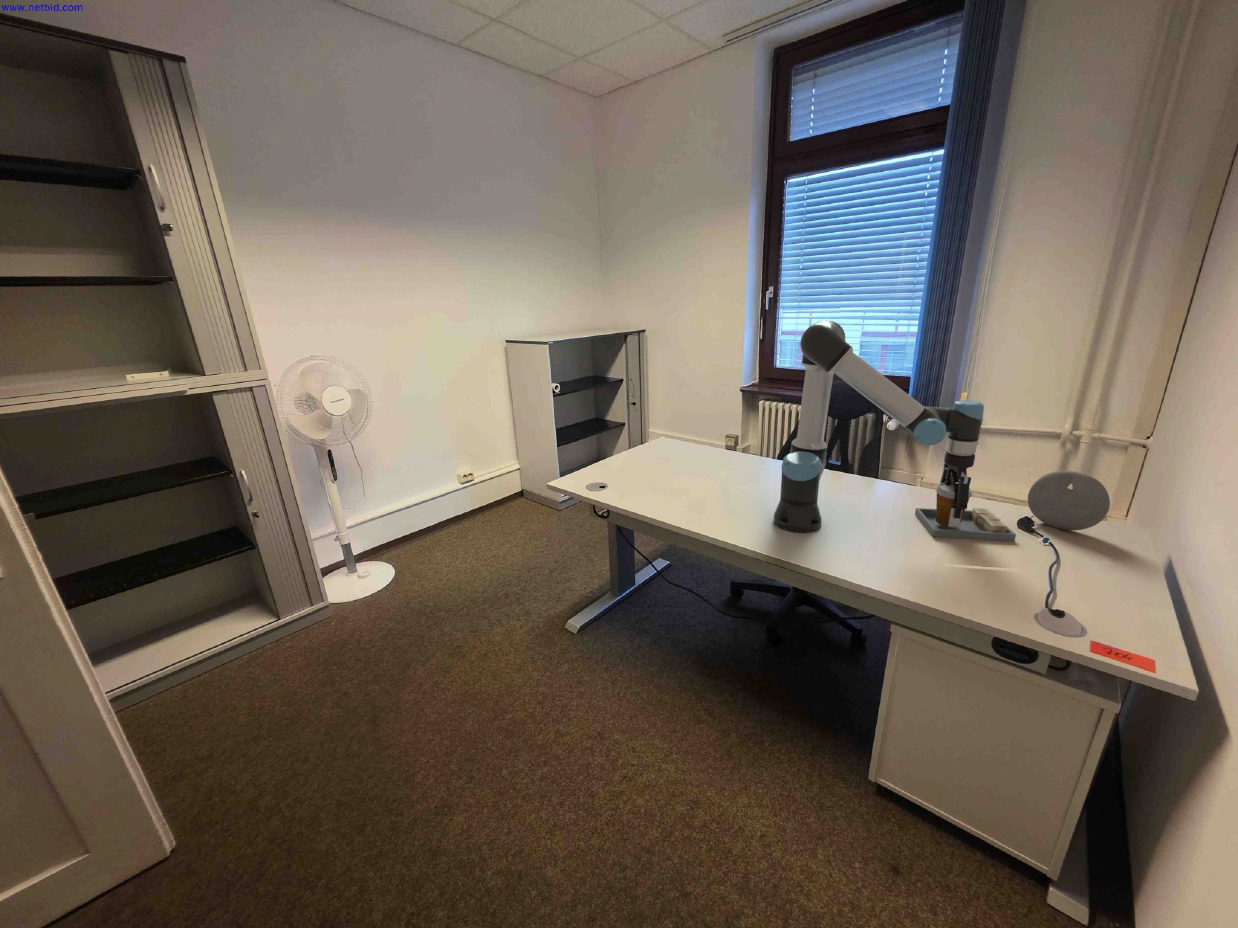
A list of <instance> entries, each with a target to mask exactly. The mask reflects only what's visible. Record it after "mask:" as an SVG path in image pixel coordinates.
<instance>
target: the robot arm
mask: <svg viewBox="0 0 1238 928" xmlns="http://www.w3.org/2000/svg"><path fill="white" fill-rule="evenodd" d="M800 350H801V352H802V358H801V365H803V367H804V368H805V373H804V381H803V389H802V395H801V404H800V412H799V420H798V425H797V426H798V427H797V434H796V438H794V439H793V440H791V445H790V446H791V447H790V452H789V453H787V454H786V455H785V456H784V457H783V459H782V463H781V482H780V483H781V484H780V496H779V497H780V499H779V502H778V505H777V507H776V509H775V511H774V513H773V523H774V525H775V526H777V527H778V528H780V529H782V530H783V531H784V530H785V531H787V532H793V533H801V534H802V533H812V532H815V531H818V530H819V529H820V528H821V527H822V520H823V519H822V516H821V512H820V508H819V505H818V499H819V487H820V481H821V478H822V475H823V473H824V470H825V469H826V466H827V451H828V444H827V443H826V441H824V439H825V433H826V425H827V421H828V420H827V419H828V414H829V413H828V412H829V408H830V407H829V406H830V399H831V392H832V385H833V379H834V375H835V376H837V377H838V378H840V379H841V380H842V381H844V382H845V383H846V384H848V385H849V386H850V387H852V388H853V389H854V390H856V391H857V392H858V393H859V394H861V395H862V396H863V397H864V398H866V399H867V400H868V401H870V402H871V403H872V404H873V405H875V406H876V407H877V408H879V409H880V410H881V411H883V412H884V413H885V414H886V415H888V416H889V417H891V418H892V419H893V420H895V421H896V422H897V423H898V424H899V425H901V426H902V427H903V428H904V429H905V430H907V431H908V432H909V433H911V434H912V435H913V437H914V438H915V440H916V441H918V443H920V444H922V445H923V446H935V445H937V444H940V443H941V442H942V441H943V440H944V439H945V437H946V434H947V433H948V436H947V441H946V446H945V450H946V451H945V454H944V459H943V462H944V464H943V471H942V475H941V479H940V482H939V484H940V483H945V485H952V486H953V492H955V497H954V500H953V506H951V513H950V518H949V523H948V526H949V527H959V524H960V519H961V514H962V509H965V510H967V509H968V503H969V501H968V494H969V488H970V485H971V482H972V477H971V476H968V474H967V473H968V470H967V469H969V468H972V467H973V466H974V464H975V459H976V455H975V453H977V447H978V446H979V444H980V442H979V437H980V433H981V428H982V423H983V420H984V410H985V405H984V404H983V403H982V402H980V401H974V400H956V401H955V402H954V404H953V406H952V407H951V406H950V407H942V406H941V407H940V406H927V405H925V406H924V405H923V404H921V403H920V402H919V401H918V400H916V399H915V398H914V397H912V396H911V395H909V394H908V393H907V392H906V391H904V390H903V389H901V388H900V387H899V386H898V385H897V384H896V383H894V382H892V381H891V380H890V379H889V378H887V376H885V375H883V374H882V373H881V372H879V371H878V370H877V369H875V368H874V367H873V366H872V365H870V364H869V363H868V362H866V361H865V360H863V359H862V358H861V357H860V356H858V355H857V354H856V353H854V348H853V346H852V345H851V344H849V343H848V342H847V341H846V333H845V330H844V329H843V327H842V326H841V325H840V324H839V323H838V322H835V321H832V320H821V321H817V322H816V323H815V322H814V324H812V325H810V326H808V328H806V329H805V330H804V331H803V333H802V336H801V338H800Z"/></svg>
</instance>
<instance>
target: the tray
mask: <svg viewBox="0 0 1238 928" xmlns="http://www.w3.org/2000/svg"><path fill="white" fill-rule="evenodd" d="M972 512H973V509H972V510H970V509H969V510H967V509H965V512H964V515H963V517H962V520H961V523H960V525H959V527H948V526H944V525H941V524H939V523H937V522H936V508H922V507H921V508H919V507H915V511H914V515H915V517H916V518H917V519H918V521H919V522H920V523H921V525H922V526H923V528H925V530H926V531H927V532H928V533H929V535H930V536H931V537H932V538H940V539H943V538H944V539H956V540H958V539H959V540H960V539H961V540H974V541H992V542H993V541H994V542H995V541H996V542H1012V543H1015V541H1016V536H1017V533H1015V532H1014V531H1013V530H1012V529H1011V528H1009V527H1008V526H1007V529H1006V533H1003V532H984V531H983V530H981V529H980V528H978V527H977V526H976V524H974V523H973V521H972V520H971V517H972ZM992 515H994V516H996V515H995V514H993V513H992Z"/></svg>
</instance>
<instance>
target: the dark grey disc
mask: <svg viewBox="0 0 1238 928" xmlns="http://www.w3.org/2000/svg"><path fill="white" fill-rule="evenodd" d="M1070 485H1071V486H1072V488H1069V486H1070ZM1110 499H1111V498H1110V496H1109V493H1108V490H1107V488H1106V487H1105V486H1104V485H1103V483H1102V482H1100V480H1098V479H1097V478H1095V477H1093V476H1091V475H1089V474H1086V473H1082V472H1078V471H1071V470H1058V471H1057V470H1056V471H1052V472H1048V473H1046V474H1044V475H1042V476H1041V477H1039V478H1038V479H1037V480H1036V481H1034V483H1033V484H1032V485H1031V487H1030V489H1029V491H1028V493H1027V504H1028V508H1029V510H1030V512H1031V514H1033V516H1035V518H1036V519H1038V520H1039V521H1040V522H1042V523H1043V524H1045V525H1047V526H1049V527H1052V528H1055V529H1059V530H1061V531H1062V530H1063V531H1081V530H1086V529H1089V528H1092V527H1095V526H1097V525H1098V524H1099V523H1101V522H1102V521H1103V520H1104V519H1105V518H1106V516H1107V515H1108V512H1109V511H1110V507H1111V505H1110V504H1111V500H1110Z"/></svg>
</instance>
